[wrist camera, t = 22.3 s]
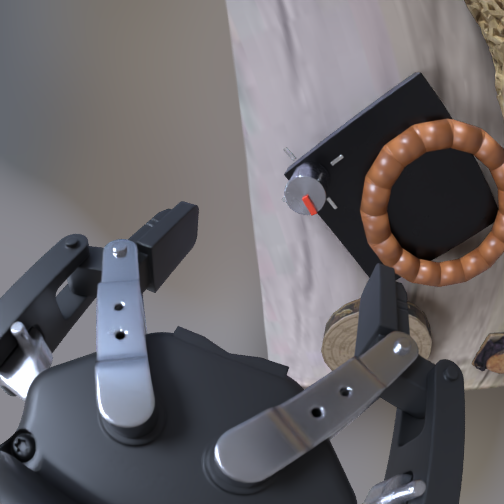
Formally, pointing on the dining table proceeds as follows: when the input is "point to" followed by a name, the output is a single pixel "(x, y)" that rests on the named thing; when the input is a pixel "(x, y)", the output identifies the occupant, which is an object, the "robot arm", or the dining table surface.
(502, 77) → the sponge
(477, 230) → the hob
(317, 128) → the dining table surface
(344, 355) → the tan disc
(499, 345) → the bread roll
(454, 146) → the brown segmented ring
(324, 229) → the dining table surface
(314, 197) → the hob knob
